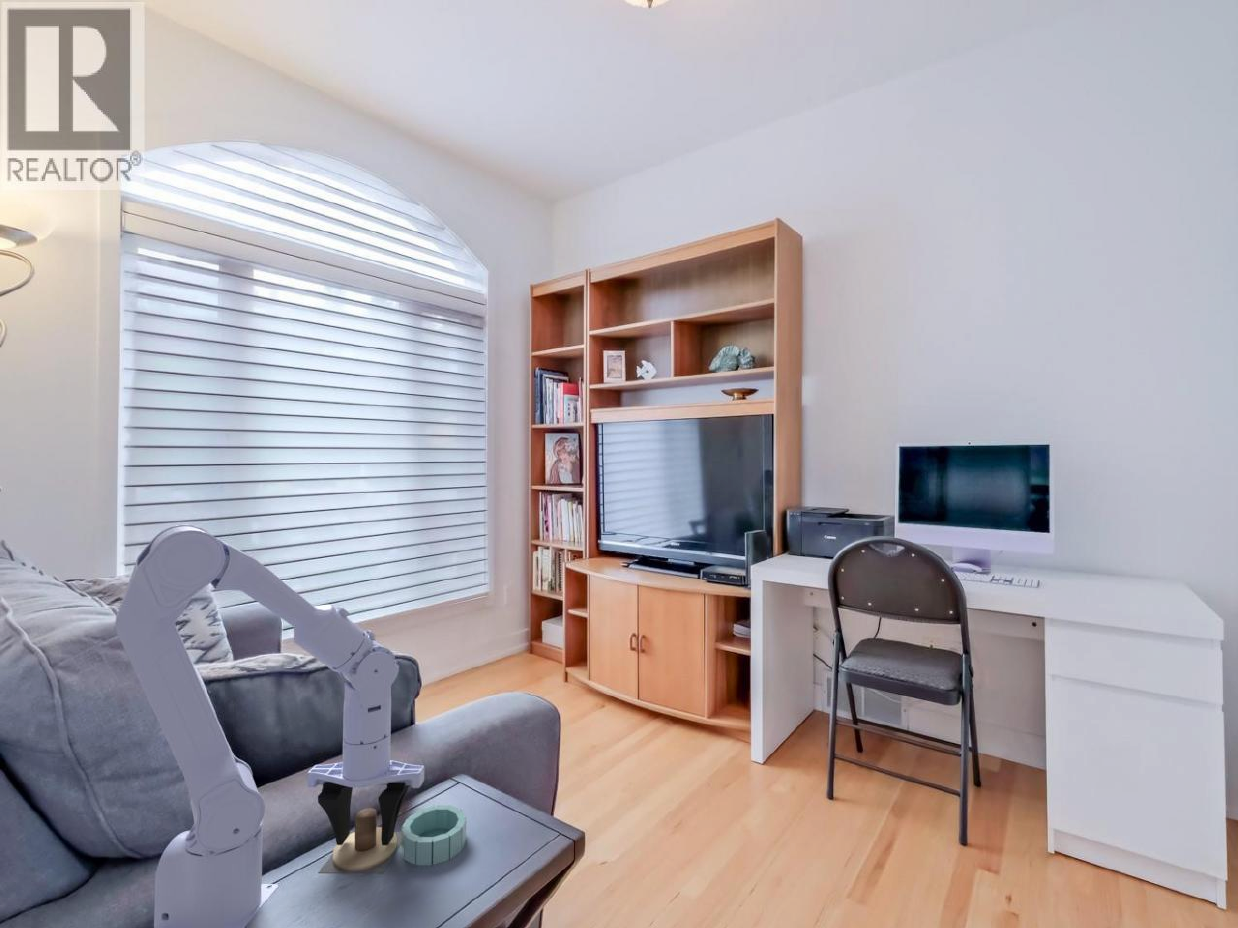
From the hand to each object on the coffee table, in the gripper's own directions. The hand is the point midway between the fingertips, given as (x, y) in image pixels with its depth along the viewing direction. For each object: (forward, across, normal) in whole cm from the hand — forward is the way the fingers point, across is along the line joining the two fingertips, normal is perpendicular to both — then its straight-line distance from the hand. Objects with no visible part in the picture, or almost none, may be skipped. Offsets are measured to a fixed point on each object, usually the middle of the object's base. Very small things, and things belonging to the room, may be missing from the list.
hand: (365, 840), depth 74 cm
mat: (+2, 0, 0) cm, 2 cm away
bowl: (+2, -8, -2) cm, 9 cm away
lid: (+1, 0, 0) cm, 1 cm away
